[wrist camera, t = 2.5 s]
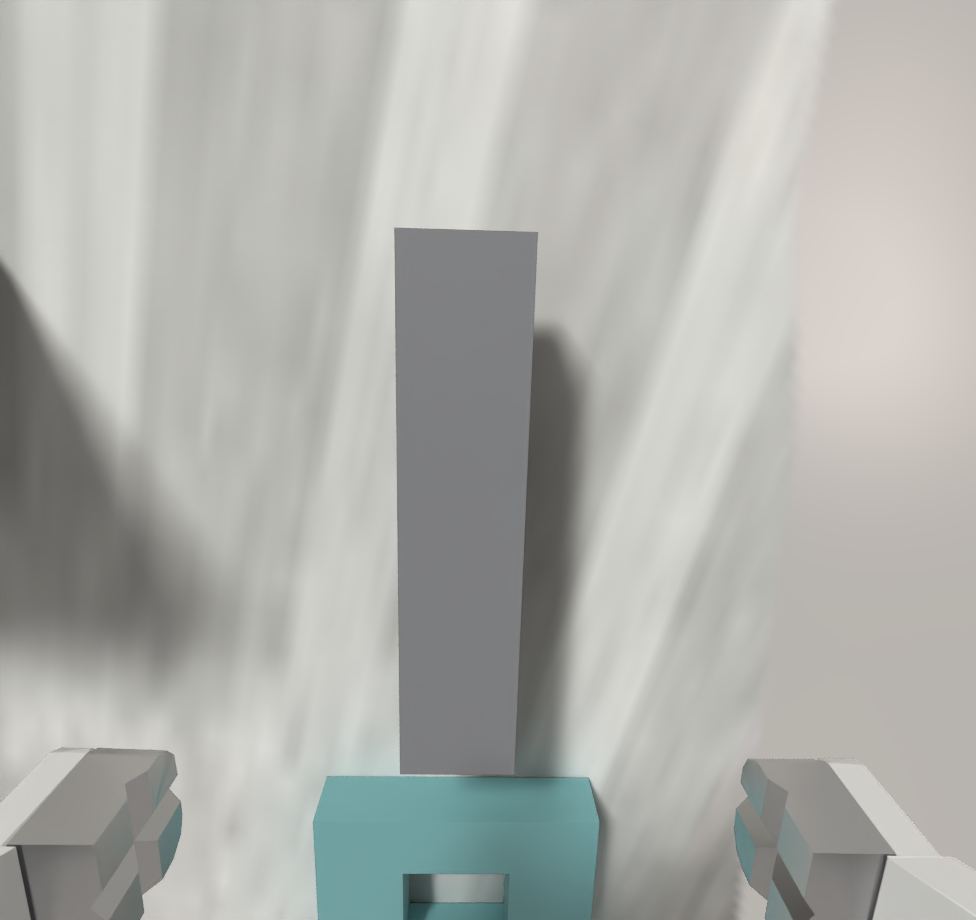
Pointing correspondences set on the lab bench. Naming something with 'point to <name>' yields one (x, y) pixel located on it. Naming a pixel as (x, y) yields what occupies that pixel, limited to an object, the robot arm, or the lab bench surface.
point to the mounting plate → (455, 845)
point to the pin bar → (461, 491)
